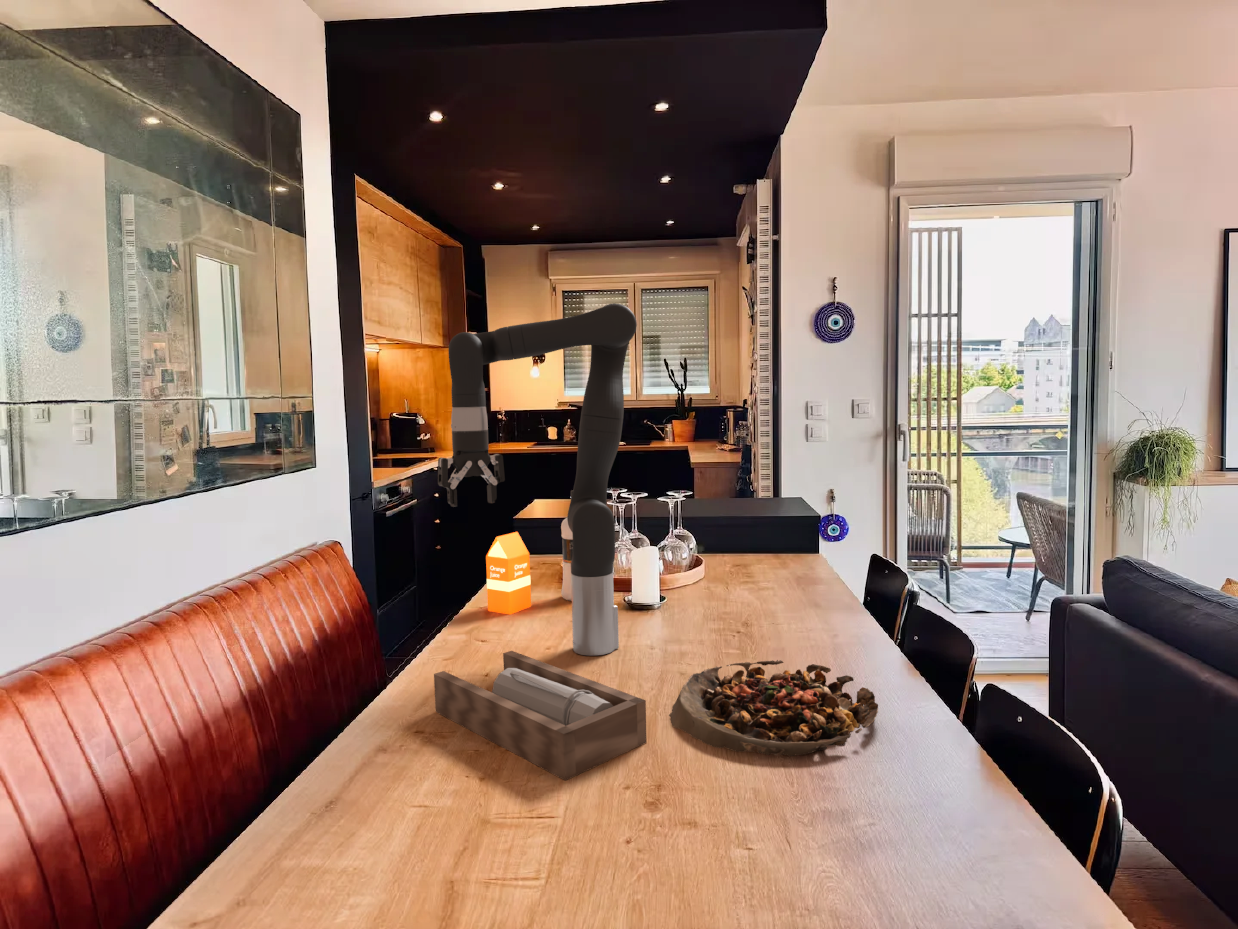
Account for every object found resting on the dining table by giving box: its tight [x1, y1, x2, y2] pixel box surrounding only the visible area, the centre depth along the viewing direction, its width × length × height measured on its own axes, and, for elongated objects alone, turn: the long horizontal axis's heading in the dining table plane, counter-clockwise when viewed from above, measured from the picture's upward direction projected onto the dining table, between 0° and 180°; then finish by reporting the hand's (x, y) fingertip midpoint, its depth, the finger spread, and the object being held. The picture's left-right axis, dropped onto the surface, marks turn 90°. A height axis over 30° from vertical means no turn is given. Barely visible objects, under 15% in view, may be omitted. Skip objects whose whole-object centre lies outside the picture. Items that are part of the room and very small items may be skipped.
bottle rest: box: [433, 650, 647, 781], centre depth 132 cm, size 36×17×7 cm, turn 44°
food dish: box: [668, 659, 879, 757], centre depth 134 cm, size 35×33×8 cm
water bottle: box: [491, 668, 613, 726], centre depth 132 cm, size 9×8×25 cm
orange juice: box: [485, 531, 532, 615], centre depth 205 cm, size 8×9×20 cm
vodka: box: [560, 489, 573, 602], centre depth 214 cm, size 9×9×30 cm
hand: (472, 504), depth 166 cm, fingers open, 8 cm apart
